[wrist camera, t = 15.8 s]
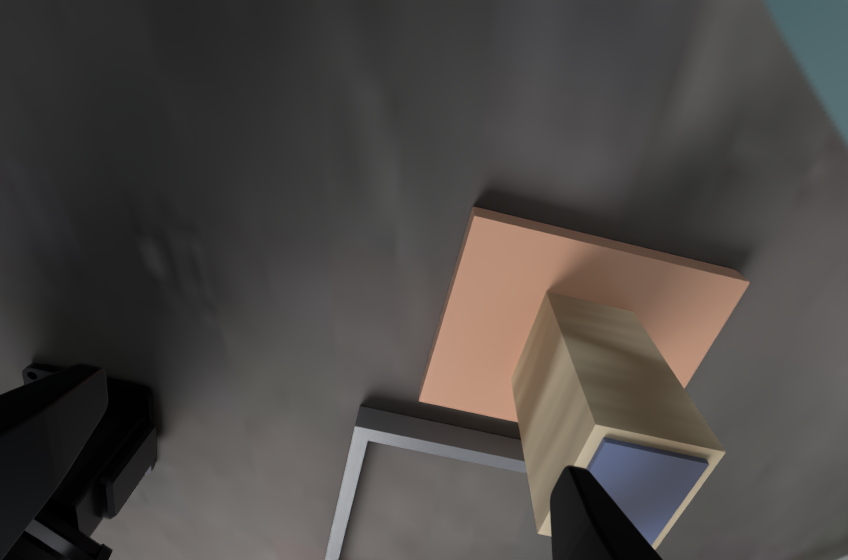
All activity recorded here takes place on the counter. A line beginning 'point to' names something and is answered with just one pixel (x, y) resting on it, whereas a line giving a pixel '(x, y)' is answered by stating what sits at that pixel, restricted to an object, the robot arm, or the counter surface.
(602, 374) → the birch label block
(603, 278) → the terracotta tile
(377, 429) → the grey picture frame
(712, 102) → the counter surface
